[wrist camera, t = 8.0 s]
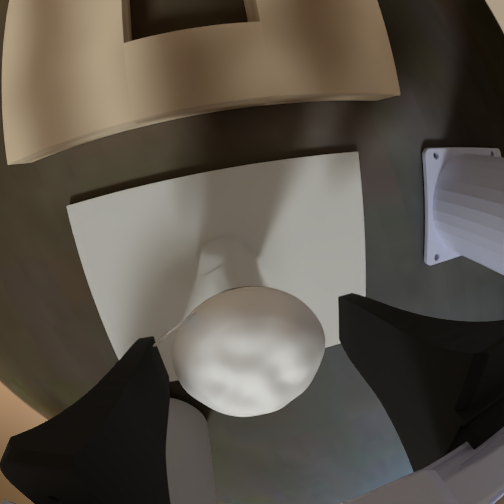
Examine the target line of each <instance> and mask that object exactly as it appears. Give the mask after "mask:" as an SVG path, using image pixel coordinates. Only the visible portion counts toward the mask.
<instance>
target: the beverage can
mask: <svg viewBox="0 0 504 504" xmlns="http://www.w3.org/2000/svg"><path fill="white" fill-rule="evenodd" d="M166 466H167V478H168V488H169V496H170V503H171V504H217V498H216V491H215V484H214V476H213V468H212V459H211V450H210V441H209V431H208V424H207V421H206V419H205V417H204V416H203V414H202V413H201V412H200V411H199V410H198V409H196V408H195V407H193V406H192V405H190V404H188V403H186V402H184V401H181V400H178V399H174V398H170V404H169V415H168V426H167V437H166Z"/></svg>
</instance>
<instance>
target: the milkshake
mask: <svg viewBox="0 0 504 504" xmlns="http://www.w3.org/2000/svg"><path fill="white" fill-rule="evenodd" d="M176 331H177V333H176V337H175V340H174V343H173V348H172V361H173V367H174V370H175V373H176V376H177V378H178V380H179V382H180V384H181V385H182V387H183V388H184V389H185V391H186V392H187V393H188V394H190V395H191V396H192V397H194V398H195V399H196V400H198V401H199V402H201V403H203V404H204V405H206V406H208V407H209V408H211V409H213V410H215V411H218V412H220V413H223V414H227V415H231V416H238V417H250V416H257V415H261V414H266V413H271V412H274V411H277V410H279V409H281V408H283V407H284V406H285V405H287V404H288V403H289V402H290V401H292V400H293V399H294V398H296V397H297V396H299V395H300V394H301V393H303V392H304V391H305V390H306V388H307V387H308V386H309V384H310V383H311V381H312V380H313V378H314V376H315V374H316V372H317V370H318V368H319V365H320V363H321V360H322V357H323V354H324V350H325V335H324V331H323V328H322V325H321V323H320V321H319V320H318V318H317V317H316V315H315V314H314V313H313V311H312V310H311V309H310V308H309V307H308V306H307V305H306V304H305V303H304V302H303V301H302V300H301V299H299V298H298V297H297V296H296V295H295V294H294V293H293V292H292V291H291V290H290V289H289V288H288V287H287V286H286V285H285V284H284V283H283V282H282V281H280V280H279V279H278V278H277V277H276V276H275V275H273V273H272V272H271V271H270V270H269V269H268V268H267V267H266V266H265V265H264V263H263V262H262V261H261V260H260V259H259V258H258V257H257V256H256V255H255V254H254V252H252V251H251V250H250V249H249V248H248V247H247V246H246V245H245V244H244V243H243V242H242V241H240V240H239V239H233V238H223V237H218V238H217V239H215V240H213V241H211V242H209V243H208V244H206V245H204V246H202V247H201V250H200V252H199V254H198V256H197V258H196V261H195V263H194V265H193V269H192V274H191V278H190V282H189V287H188V291H187V296H186V301H185V305H184V308H183V311H182V315H181V318H180V322H179V324H177V325H176V326H174V327H173V328H171V329H170V330H169V331H167V332H166V333H164V334H163V335H162V336H161V337H160V338H159V339H158V340H157V341H156V343H155V344H154V345H153V347H155V346H157V345H158V344H159V343H161V342H162V341H164V340H165V339H166V338H168V337H169V336H170V335H172V334H173V333H174V332H176Z"/></svg>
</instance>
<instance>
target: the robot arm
mask: <svg viewBox="0 0 504 504" xmlns="http://www.w3.org/2000/svg"><path fill="white" fill-rule="evenodd" d="M434 153H435V158H434V156H433V155H434ZM422 158H423V172H424V192H425V247H424V262H425V263H426V264H428V265H434V264H437V263H440V262H443V261H446V260H449V259H452V258H455V257H458V256H461V255H463V256H465V257H467V258H469V259H471V260H474V261H476V262H478V263H480V264H482V265H484V266H486V267H488V268H490V269H492V270H494V271H496V272H498V273H500V274H502V275H504V158H503V157H501V152H500V150H499V149H498V148H468V147H444V148H425V149H424V150H423V153H422ZM435 255H436V257H435ZM434 257H435V258H434ZM338 307H339V340H340V342H341V344H342V346H343V348H344V350H345V352H346V354H347V355H348V357H349V359H350V360H351V362H352V363H353V364H354V366H355V367H356V368H357V370H358V371H359V372H360V374H361V375H362V376H363V378H364V379H365V380H366V382H367V383H368V384H369V386H370V387H371V389H372V390H373V391H374V393H375V394H376V395H377V397H378V398H379V400H380V401H381V403H382V405H383V407H384V408H385V410H386V412H387V414H388V416H389V418H390V419H391V421H392V423H393V425H394V427H395V429H396V431H397V433H398V435H399V437H400V440H401V442H402V444H403V446H404V449H405V451H406V453H407V456H408V458H409V461H410V463H411V466H412V469H413V471H414V473H411V474H409V475H406V476H404V477H401V478H399V479H397V480H395V481H393V482H391V483H389V484H386V485H384V486H382V487H380V488H377V489H375V490H373V491H370V492H368V493H366V494H363V495H361V496H358V497H355V498H353V499H350V500H347V501H345V502H342V503H339V504H494V503H495V502H496V501H497V500H499V499H500V498H501V497H502V496H503V495H504V320H500V321H489V322H466V321H454V320H445V319H438V318H433V317H428V316H423V315H419V314H415V313H411V312H408V311H404V310H401V309H398V308H395V307H392V306H389V305H386V304H384V303H381V302H378V301H375V300H372V299H370V298H367V297H364V296H361V295H358V294H354V293H350V294H347V295H343V296H339V297H338ZM155 343H156V342H155V339H154V336H151V337H144V338H139V339H138V340H137V341H136V342H135V343H134V344H133V345H132V346H131V347H130V348H129V349H128V351H127V352H126V353H125V354H124V355H123V356H122V358H121V359H120V360H119V361H118V362H117V363H116V364H115V366H114V367H113V368H112V369H111V370H110V371H109V372H108V373H107V374H106V375H105V376H104V377H103V378H102V379H101V380H100V381H99V383H98V384H97V385H95V386H94V387H93V388H92V389H91V390H90V391H89V392H88V393H87V394H85V395H84V396H83V397H82V398H81V399H79V400H78V401H77V402H76V403H74V404H73V405H71V406H70V407H68V408H67V409H66V410H64V411H63V412H61V413H60V414H58V415H57V416H55V417H53V418H52V419H50V420H48V421H46V422H44V423H42V424H41V425H39V426H37V427H34V428H32V429H30V430H28V431H25V432H23V433H20V434H18V435H15V436H12V437H11V438H10V440H9V442H8V445H7V447H6V449H5V452H4V454H3V456H2V459H1V462H0V468H1V471H2V473H3V474H4V476H5V477H6V478H7V479H8V480H9V482H11V484H13V485H14V486H15V487H16V488H17V489H18V490H19V491H20V492H22V493H23V494H24V495H25V496H26V497H27V498H29V499H30V500H31V501H32V502H33V503H35V504H171V503H170V496H169V488H168V478H167V466H166V437H167V426H168V415H169V404H170V384H169V375H168V373H167V370H166V368H165V365H164V363H163V360H162V357H161V355H160V352H159V350H158V347H157V346H155V347H153V345H154V344H155ZM1 504H16V503H13V502H10V501H7V500H2V502H1Z"/></svg>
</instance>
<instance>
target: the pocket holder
mask: <svg viewBox="0 0 504 504" xmlns="http://www.w3.org/2000/svg"><path fill="white" fill-rule="evenodd" d="M244 5H245V10H246V15H247V20H248V22H243V23H230V24H220V25H212V26H204V27H197V28H190V29H184V30H179V31H173V32H168V33H163V34H158V35H154V36H149V37H145V38H141V39H137V40H133V41H132V29H131V13H130V0H9V5H8V12H7V18H6V26H5V34H4V45H3V59H2V113H3V128H4V139H5V148H6V156H7V164H8V165H11V164H22V163H32V162H34V161H37V160H39V159H42V158H44V157H47V156H49V155H52V154H55V153H57V152H60V151H63V150H66V149H69V148H72V147H75V146H77V145H80V144H84V143H87V142H90V141H93V140H96V139H99V138H103V137H106V136H110V135H113V134H117V133H120V132H124V131H128V130H131V129H135V128H139V127H143V126H147V125H151V124H156V123H160V122H165V121H169V120H174V119H179V118H184V117H189V116H194V115H200V114H206V113H212V112H218V111H224V110H231V109H238V108H246V107H254V106H263V105H273V104H285V103H298V102H316V101H378V100H382V99H386V98H390V97H394V96H398V95H401V94H400V88H399V83H398V78H397V73H396V68H395V64H394V59H393V55H392V51H391V46H390V42H389V39H388V35H387V31H386V27H385V24H384V20H383V17H382V14H381V11H380V7H379V4H378V1H377V0H244Z"/></svg>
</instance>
